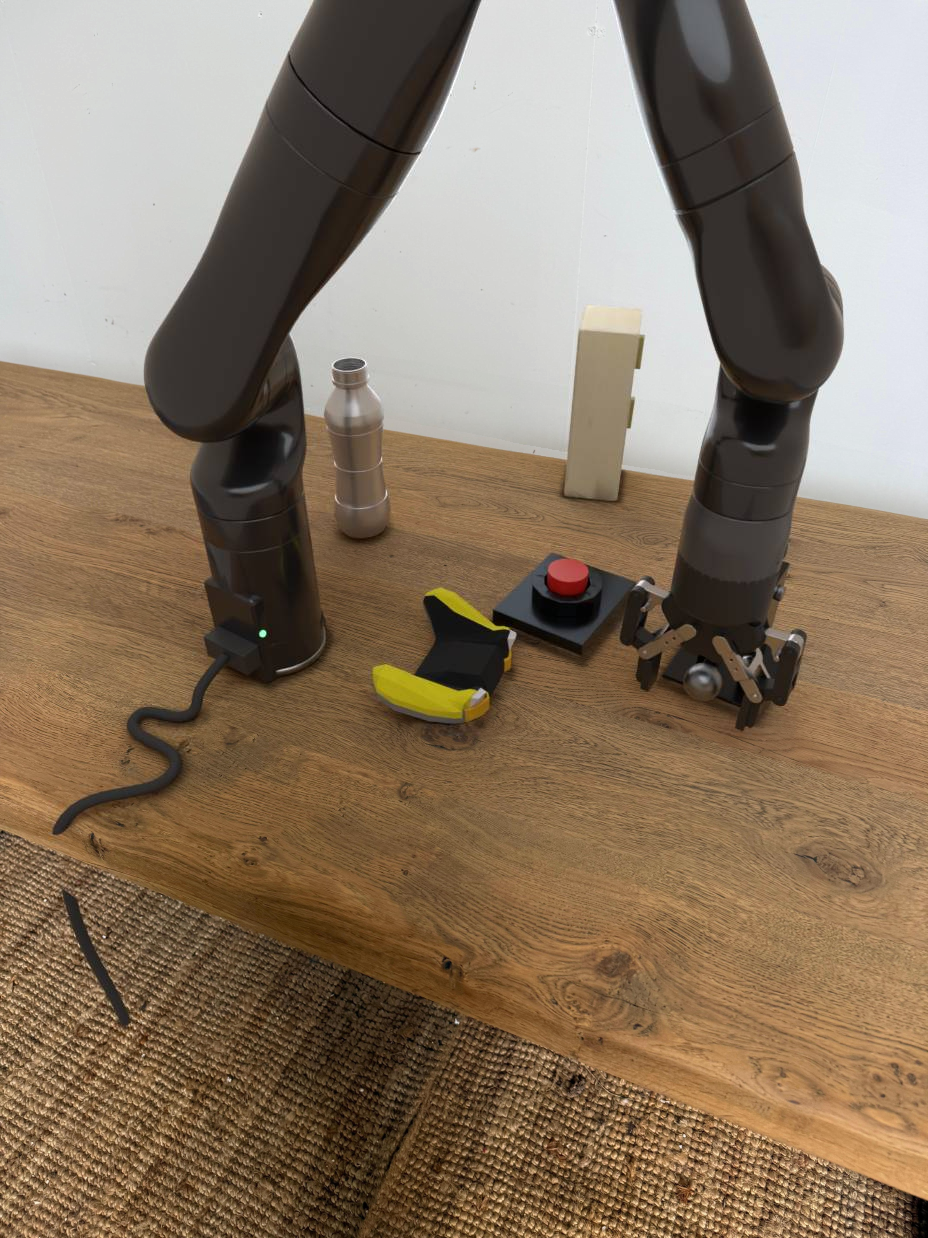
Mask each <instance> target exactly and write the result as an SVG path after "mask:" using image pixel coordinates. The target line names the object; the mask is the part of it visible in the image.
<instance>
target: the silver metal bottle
mask: <svg viewBox="0 0 928 1238" xmlns="http://www.w3.org/2000/svg"><path fill="white" fill-rule="evenodd" d="M331 373H332V377H331V382H332V384H333V386H334V388H333V390H332V392H331V393H330V394H329V396H328V398H327V400H326V402H325V404H324V405H325V406H324V409H323V410H324V411H323V419H324V423H325V427H326V431H327V435H328V439H329V443H330V447H331V452H332V458H333V463H334V471H335V474H334V475H335V477H334V478H335V495H334V504H333V505H334V506H333V507H334V508H333V510H334V511H333V516H334V519H335V521H336V525H337V527H338V529H339V530H341V532H342V533H344V534H345V535H346V536H348V537H351V538H354V539H355V538H356V539H368V538H372V537H375V536H378V535H379V534H382V533H383V531H384V530H385V529H386V528H387V526H388V525H389V524H390V520H391V511H392V507H391V502H390V497H389V494H388V491H387V487H386V479H385V475H384V467H383V434H384V421H385V409H384V405H383V403H382V401H381V398H380V397H379V396H378V395H377V394H376V392H375V391H374V390H373V389H372V388H371V387H370V386H369V384H368V383H369V382H370V375H369V373H368V363H367V361H366V360H365V359H363V358H360V357H343V358H339V359H337V360H335V361H333V362H332V364H331Z"/></svg>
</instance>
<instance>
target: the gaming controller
mask: <svg viewBox="0 0 928 1238" xmlns="http://www.w3.org/2000/svg"><path fill="white" fill-rule="evenodd" d="M422 608H423V610H424V613H425V615H426V618H427V620H428V623H429V626H430V630H431V632H432V635H433V639H434V641H433V644H432V645H431V647H430V649H429V651H428V652H427V654H426V656H425V657H424V658H423V660H422V662H421V663H420V665H419V666H418V668H417V669H416V671H415V673H414V674H412V673H411V672H407V671H406V670H403V669H401V668H398V667H395V666H393V665H390V664H387V663H385V664H379V665H376V666H373V667H372V673H371V674H372V678H371V681H372V682H371V684H372V688H373V691H374V692H373V693H374V694H375V697H376V699H377V700H379V701H380V702H382V703H383V704H384V705H386V706H387V707H388V708H389V709H391V710H393V711H395V712H397V713H401V714H405V715H407V716H411V717H414V718H417V719H420V720H424V721H426V722H432V723H443V724H455V725H456V724H463V723H470V722H471V721H473V720H475V719H478V718H480V717H482V716H483V715H484V714H486V713H487V712H488V711H489V710H490V699H491V697H492V696H493V693H494V692H495V690H496V688H497V686H498V684H499V682H500V681H501V678H502V676H503V675H504V673H505V672H507V671H509V670H510V669H511V668H512V647H513V646H514V645H513V644H514V642H515V641H516V637H517V632H515V631H514V630H512V629H510V627H505V626H495V625H494V624H493V621H492V622H491V621H490V620H489V619H488V618H487V617H486V616H484V615H483V614H482V613H481V612H479V610H477V609H476V608H474V607H473V605H471V604H469V603H468V602H467V601H466V600H465V599H464V598H462V597H461V595H460V596H459V595H458V594H457V593H456V592H455V591H451V590H449V589H446V588H443V587H437V588H435V589H432V590H429V591H428V592H426V593H425V594H424V597H423V600H422Z"/></svg>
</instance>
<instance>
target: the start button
mask: <svg viewBox="0 0 928 1238" xmlns="http://www.w3.org/2000/svg"><path fill="white" fill-rule="evenodd" d="M585 564H586V563H584V562H582V561H581V560H578V559H574V558H570V559H559V560H556V561H554V562H552V563H551V564H550V565H549V567H548V575H547V585H548V588H549V589H550V590H551V591H553V592H556V593H559V594H561V595H576V594H579V593H582V592H584V591H585V590H586V588H587V582H588V573H589V571H588V568H587V566H586V565H585Z"/></svg>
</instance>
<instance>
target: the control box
mask: <svg viewBox="0 0 928 1238" xmlns="http://www.w3.org/2000/svg"><path fill="white" fill-rule="evenodd" d="M559 559H571V558H570V557H567V556H565V555H561V554H559V553H555V552H553V551H551V552H550V553H549V554H548V555H546V557H545V558H544V559H542V561H541V562H540V563H539V564H538V565H536V567H535V568H534V569H533V570H531V571H530V573H529V574H527V575H526V576H525V577H524V578H523V580H521V581H520V582H519V583H518V584H517V585H516V586H515V587H514V588H513V589H512V590H511V591H510V592H509V593H508V594H507V595H506V596H505V597H504V598H503V599H502V600H501V601H500V602H499V603H498V604H497V605H495V607H494V608H493V609H492V623H493V624H494V625H495V626H505V627H509V628H512V629H514V630H517V631H518V632H521V633H524V634H526V635H529V636H531V637H534V638H537V639H539V640H541V641H544V642H545V643H549V644H551V645H553V646H556V647H559V648H561V649H563V650H566V651H569V652H570V653H573V654H575V655H577V656H580V657H581V656H583V655H584V654H585V653H586V651H587V650H588V649H589V648H590V647H591V646H592V644H593V643H594V642H595V641H596V640H597V639H598V637H599V636H600V635H601V634H602V632H603V631H604V630H605V629H606V628H607V626H608V625H609V624H610V623H611V621H613V619H614V618H615V617H616V615H617V614H618V613H619V612H620V611H621V610H622V608H623V607H625V605H627V602H628V597H629V593H630V592H631V590H632V589H633V588H634V587H635V586H636V584H637V581H635V580H632V579H629V578H626V577H624V576H621V575H617V574H616V573H612V572H609V571H607V570H604V569H601V568H598V567H595V566H592V565H589V564H587V563H584V564H585V565H586V566H587V568H588V571H589V573H588V582H587V588H586V590H585V591H584V592H582V593H579V594H576V595H561V594H559V593H556V592H553V591H551V590H550V589H549V588H548V585H547V575H548V567H549V565H550V564H551V563H552V562H554V561H556V560H559Z"/></svg>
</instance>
